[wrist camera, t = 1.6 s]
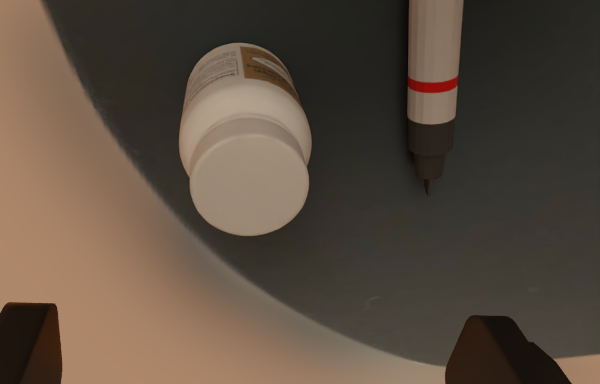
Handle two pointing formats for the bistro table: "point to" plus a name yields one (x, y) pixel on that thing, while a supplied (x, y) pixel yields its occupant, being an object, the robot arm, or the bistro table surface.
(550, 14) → the bistro table surface
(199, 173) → the pill bottle
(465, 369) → the robot arm
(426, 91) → the marker
